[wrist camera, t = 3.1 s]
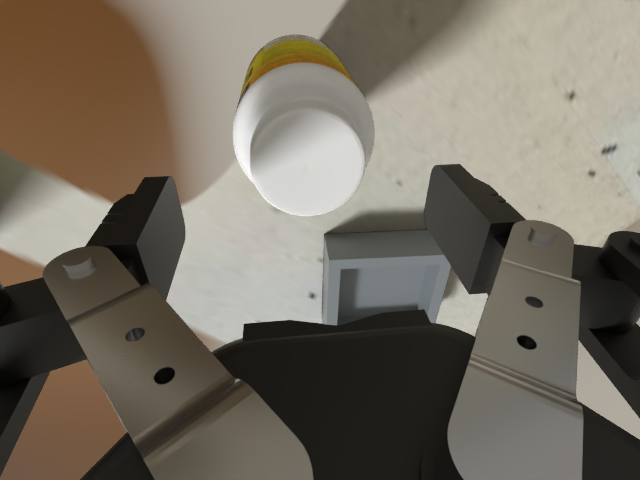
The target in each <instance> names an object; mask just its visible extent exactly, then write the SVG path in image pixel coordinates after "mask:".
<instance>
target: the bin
mask: <svg viewBox="0 0 640 480" xmlns="http://www.w3.org/2000/svg"><path fill="white" fill-rule="evenodd" d="M450 269H451V265H450V263H449V262H448V260H447V259H446V257H445V255H444V254H443V252H442V251H441V249H440V248H439V246H438V244H437V243H436V241H435V240H434V238H433V236H432V235H431V233H430V232H429V230H410V231H385V232H360V233H335V234H324V257H323V291H322V322H323V324H327V325H342V324H346V323H349V322H352V321H356V320H359V319H362V318H366V317H369V316H372V315H376V314H379V313H385V312H397V311H409V310H422V309H425V312H426V314H427V316H428V318H429V320H430V322H431V323H436V319H437V316H438V312H439V308H440V305H441V301H442V298H443V294H444V291H445V287H446V284H447V280H448V276H449V273H450Z"/></svg>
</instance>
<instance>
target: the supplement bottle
mask: <svg viewBox="0 0 640 480" xmlns="http://www.w3.org/2000/svg"><path fill="white" fill-rule="evenodd" d="M233 144H234V149H235V153H236V157H237V159H238V162H239V164H240V166H241V168H242V170H243V171H244V173H245V174H246V175H247V177H248V178H249V179H250V180H251V181H252V182H253V183H254V184H255V186H256V188H257V189H258V191H259V192H260V194H261V195H262V196H263V197H264V199H265V200H266V201H268V202H269V203H270V204H271V205H273V206H274V207H276V208H278V209H279V210H281V211H284V212H286V213H289V214H293V215H298V216H314V215H321V214H324V213H327V212H330V211H332V210H334V209H336V208H338V207H339V206H341V205H342V204H344V203H345V202H346V201H347V200H348V199H349V198H350V197H351V196H352V195H353V194H354V193H355V191H356V190H357V188H358V187H359V185H360V183H361V181H362V178H363V175H364V171H365V167H366V166H367V164H368V161H369V159H370V156H371V153H372V150H373V145H374V121H373V117H372V113H371V110H370V108H369V105H368V103H367V101H366V99H365V97H364V96H363V94H362V93H361V91H360V90H359V88H358V87H357V85H356V84H355V82H354V81H353V79H352V78H351V76H350V75H349V73H348V72H347V71H346V69H345V68H344V66H343V65H342V63H341V62H340V60H339V59H338V57H337V56H336V55H335V54H334V52H333V51H332V50H331V49H330V48H329V47H328V46H327V45H325V44H324V43H322V42H321V41H319V40H317V39H314V38H312V37H309V36H304V35H286V36H282V37H279V38H277V39H274V40H273V41H271V42H269V43H268V44H266V45H265V46H264V47H263V48H261V49H260V50H259V52H258V53H257V54H256V55H255V56H254V58H253V60H252V61H251V63H250V66H249V68H248V71H247V74H246V77H245V81H244V85H243V88H242V91H241V96H240V99H239V103H238V106H237V110H236V113H235V118H234V124H233Z"/></svg>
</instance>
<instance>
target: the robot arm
mask: <svg viewBox="0 0 640 480" xmlns="http://www.w3.org/2000/svg"><path fill="white" fill-rule="evenodd" d="M107 214H108V215H106V216H105V218H104V219H103V221H102V224H100V225H99V227H98V228H97V230H96V231H95V233H94V234H93V236H92V237H91V239H90V240H89V242H88V243H87V245H86V246H85V247H80V248H76V249H73V250H70V251H68V252H65V253H63V254H61V255H59V256H57V257H56V258H54V259H53V260H52V261H50V262H49V263H48V264H47V265H46V267H45V268H44V270H43V277H42V278H39V279H35V280H31V281H27V282H23V283H19V284H15V285H11V286H7V287H3V285H2V284H1V282H0V476H1V474H2V472H3V470H4V468H5V465H6V463H7V461H8V459H9V457H10V455H11V453H12V451H13V449H14V447H15V444H16V442H17V440H18V438H19V436H20V434H21V432H22V430H23V427H24V425H25V423H26V421H27V419H28V417H29V415H30V413H31V411H32V409H33V407H34V405H35V402H36V400H37V398H38V396H39V394H40V392H41V390H42V388H43V385H44V383H45V381H46V379H47V377H48V375H49V373H50V371H52V370H55V369H58V368H61V367H64V366H67V365H70V364H73V363H76V362H79V361H82V360H86V359H87V360H88V362H89V364H90V366H91V367H92V369H93V371H94V373H95V375H96V377H97V378H98V380H99V382H100V384H101V386H102V388H103V389H104V391H105V393H106V395H107V397H108V399H109V400H110V402H111V404H112V406H113V408H114V410H115V411H116V413H117V415H118V417H119V419H120V421H121V422H122V424H123V426H124V428H125V430H126V432H127V433H126V434H125V435H124V436H123V437H122V438H121V439H120V440H119V441H118V442H117V443H116V444H115V445H114V446H113V447H112V448H111V449H110V450H109V451H108V452H107V453H106V454H105V455H104V456H103V457H102V458H101V459H100V460H99V461H98V462H97V463H96V464H95V465H94V466H93V467H92V468H91V469H90V470H89V471H88V472H87V473H86V474H85V475H84V476H83V477H82V478H81V479H80V480H640V440H639V439H638V438H636V437H634V436H633V435H631V434H629V433H628V432H626V431H625V430H623V429H622V428H620V427H618V426H617V425H615V424H614V423H612V422H611V421H609V420H607V419H606V418H604V417H603V416H601V415H599V414H597V413H596V412H595V411H593V410H591V409H590V408H588V407H587V406H585V405H583V404H582V403H580V402H579V401H577V399H576V381H577V359H578V339H579V341H580V342H581V343H582V345H583V346H584V347H585V348H586V350H587V351H588V352H589V354H590V355H591V356H592V357H593V359H594V360H595V361H596V363H597V364H598V365H599V366H600V368H601V369H602V370H603V372H604V373H605V374H606V375H607V377H608V378H609V379H610V381H611V382H612V383H613V384H614V386H615V387H616V388H617V390H618V391H619V392H620V393H621V395H622V396H623V397H624V399H625V400H626V401H627V402H628V404H629V405H630V406H631V407H632V409H633V410H634V411H635V413H636V414H637V415H638V416H639V418H640V327H639V326H638V325H637V324H636V322H637V321H638V319H639V318H640V233H636V232H629V231H618V232H614V233H611V234H610V235H609V237H608V239H607V241H606V243H605V244H604V246H603V248H600V247H592V246H584V245H576V244H574V240H573V238H572V237H571V235H570V234H569V233H567V232H566V231H565V230H563V229H561V228H560V227H557V226H555V225H553V224H550V223H546V222H542V221H536V220H526V219H525V218H524V217H523V216H521V215H520V214H519V213H518V212H517V211H516V210H515V209H514V208H513V207H512V206H511V205H510V204H509V203H506V200H505V199H503V198H502V197H501V196H499V195H498V193H497V192H496V191H495V190H494V189H493V188H492V187H491V186H490V185H488V184H486V183H484V182H482V181H480V180H478V179H476V178H474V177H473V176H472V175H471V174H470V173H469V172H467V171H466V170H465V169H464V168H463V167H462V166H461V165H460V164H450V165H435V166H434V167H433V169H432V172H431V176H430V182H429V187H428V192H427V198H426V203H425V209H424V219H425V224H426V227H427V229H428V230H429V232H430V233H431V235H432V236H433V238H434V240H435V241H436V243H437V244H438V246H439V248H440V249H441V251H442V252H443V254H444V255H445V257H446V259H447V260H448V262H449V263H450V265H451V266H452V268H453V270H454V271H455V273H456V274H457V276H458V278H459V279H460V281H461V282H462V284H463V285H464V287H465V289H466V290H467V292H468V293H469V294H479V293H487V294H488V295H489V296H488V298H487V301H486V304H485V307H484V310H483V313H482V316H481V319H480V322H479V325H478V328H477V331H476V334H475V337H474V336H472V335H470V334H468V333H466V332H463V331H461V330H458V329H456V328H452V327H449V326H446V325H441V324H436V323H431V322H430V320H429V318H428V316H427V314H426V312H425V309H422V310H409V311H397V312H385V313H379V314H376V315H372V316H369V317H366V318H362V319H359V320H356V321H352V322H349V323H346V324H342V325H327V324H319V323H310V322H301V321H293V320H286V321H273V322H261V323H249V324H244V330H243V338H242V339H239V340H235V341H233V342H231V343H228V344H226V345H224V346H222V347H220V348H218V349H216V350H214V351H213V352H211V351H210V350H209V349H208V348H207V347H206V346H205V345H204V344H203V342H202V341H201V340H200V339H199V338H198V337H197V336H196V335H195V333H194V332H193V331H192V330H191V329H190V328H189V327H188V325H187V324H186V323H185V322H184V321H183V320H182V319H181V318H180V316H179V315H178V314H177V313H176V312H175V311H174V310H173V308H172V307H171V306H170V305H169V304H168V303H167V302H166V299H167V296H168V293H169V289H170V286H171V283H172V280H173V277H174V273H175V270H176V267H177V264H178V261H179V257H180V254H181V251H182V248H183V245H184V241H185V223H184V218H183V214H182V210H181V206H180V202H179V197H178V193H177V189H176V185H175V181H174V179H173V177H171V176H163V177H145V178H144V179H143V180H142V182H141V183H140V185H139V187H138V188H137V190H136V192H135V193H134V194H127V195H126V196H125V197H123V198H121V199H120V200H118V201H117V202H116V203H114V204H113V206H112V207H111V209H110V210H109V212H108V213H107Z"/></svg>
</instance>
